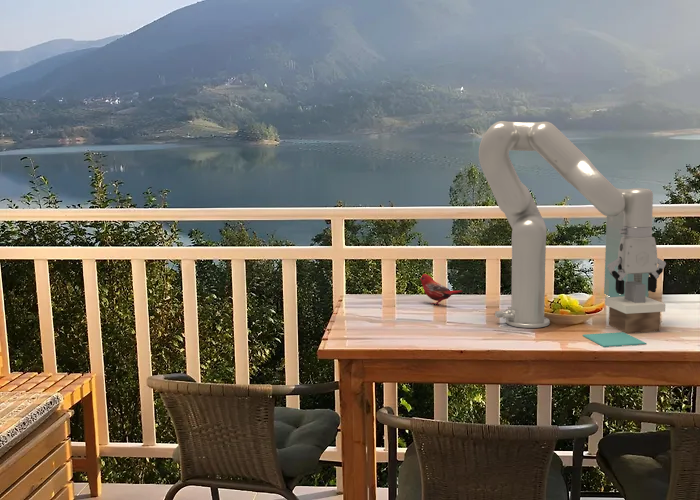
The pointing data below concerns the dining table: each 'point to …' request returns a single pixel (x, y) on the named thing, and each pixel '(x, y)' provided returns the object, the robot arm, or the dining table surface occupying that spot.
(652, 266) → the robot arm
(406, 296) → the dining table surface
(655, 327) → the box
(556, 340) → the dining table surface
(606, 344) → the mat
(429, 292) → the decorative bird figurine
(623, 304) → the lid
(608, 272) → the device
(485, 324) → the dining table surface
